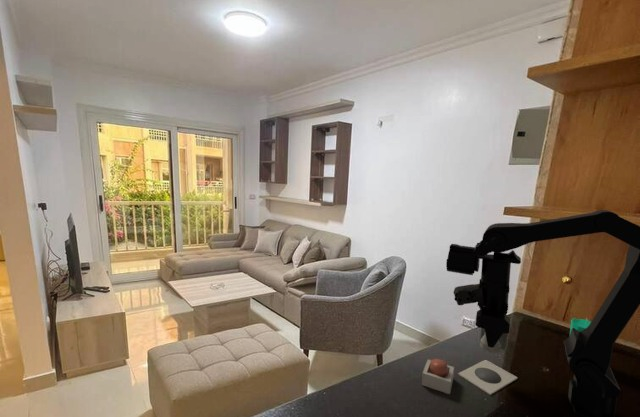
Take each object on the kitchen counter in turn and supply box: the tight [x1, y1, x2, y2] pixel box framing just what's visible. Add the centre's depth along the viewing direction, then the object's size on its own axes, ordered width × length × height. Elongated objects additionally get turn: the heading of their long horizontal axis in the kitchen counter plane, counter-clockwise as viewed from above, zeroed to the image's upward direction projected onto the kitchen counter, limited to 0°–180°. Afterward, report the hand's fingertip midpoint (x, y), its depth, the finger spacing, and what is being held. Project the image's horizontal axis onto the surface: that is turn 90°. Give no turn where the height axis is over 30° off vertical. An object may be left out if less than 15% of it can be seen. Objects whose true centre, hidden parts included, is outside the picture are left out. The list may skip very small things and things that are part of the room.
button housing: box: [421, 358, 455, 395], centre depth 72 cm, size 6×6×3 cm
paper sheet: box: [457, 359, 518, 396], centre depth 74 cm, size 11×8×1 cm
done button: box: [430, 358, 448, 378], centre depth 72 cm, size 4×4×2 cm
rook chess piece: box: [479, 333, 502, 354], centre depth 72 cm, size 4×4×8 cm
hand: (490, 342), depth 73 cm, fingers closed on rook chess piece, 4 cm apart
